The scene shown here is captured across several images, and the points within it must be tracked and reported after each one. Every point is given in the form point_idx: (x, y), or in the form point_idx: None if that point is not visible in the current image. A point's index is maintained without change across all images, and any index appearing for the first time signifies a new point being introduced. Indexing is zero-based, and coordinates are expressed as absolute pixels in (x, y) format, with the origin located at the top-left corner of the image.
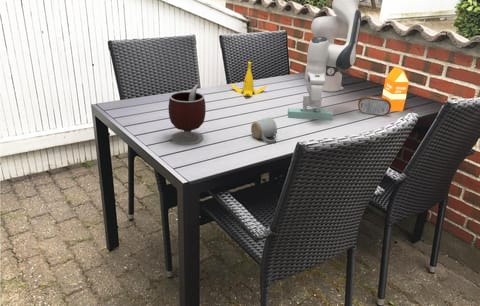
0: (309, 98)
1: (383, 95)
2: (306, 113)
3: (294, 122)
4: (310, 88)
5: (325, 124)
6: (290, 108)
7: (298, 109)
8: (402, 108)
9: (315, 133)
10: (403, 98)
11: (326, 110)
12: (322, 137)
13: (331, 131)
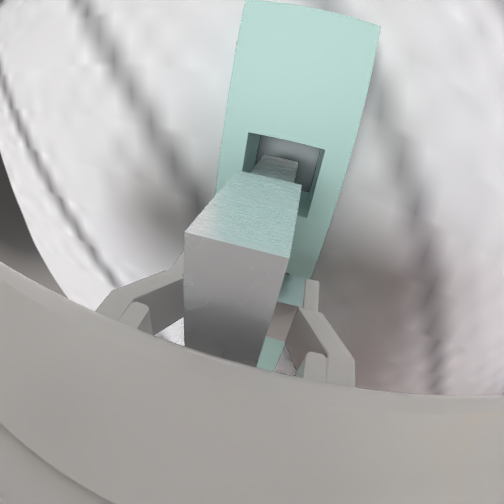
0: (188, 307)
1: None
2: (220, 180)
3: (150, 55)
4: (21, 441)
5: (141, 259)
6: (361, 43)
7: (320, 125)
8: None
9: (31, 166)
10: None
11: (269, 349)
12: (14, 186)
13: (67, 247)
